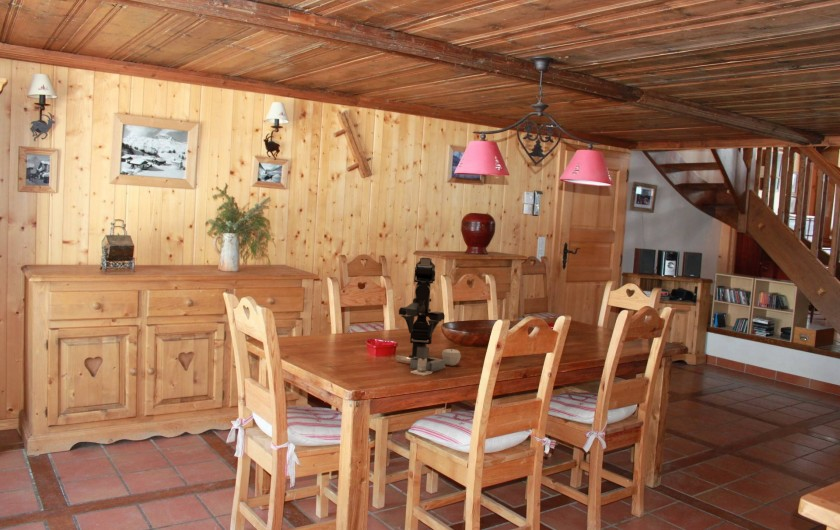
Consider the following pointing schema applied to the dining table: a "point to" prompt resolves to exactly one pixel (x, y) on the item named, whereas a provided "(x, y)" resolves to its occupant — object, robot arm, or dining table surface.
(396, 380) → the dining table surface
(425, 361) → the dark square post
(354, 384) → the dining table surface
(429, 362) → the block
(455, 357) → the apple
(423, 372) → the pad
